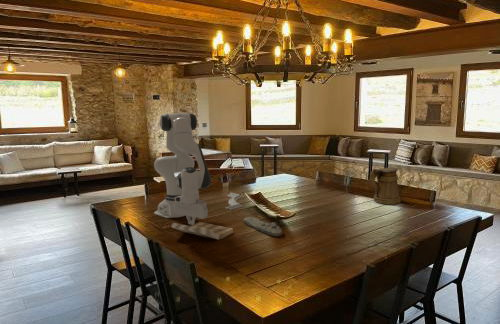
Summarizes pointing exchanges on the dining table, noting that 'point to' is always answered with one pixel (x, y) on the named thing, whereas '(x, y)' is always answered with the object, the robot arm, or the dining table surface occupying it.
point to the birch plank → (195, 231)
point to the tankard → (385, 186)
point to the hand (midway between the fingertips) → (191, 223)
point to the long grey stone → (264, 226)
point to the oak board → (214, 229)
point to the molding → (234, 201)
